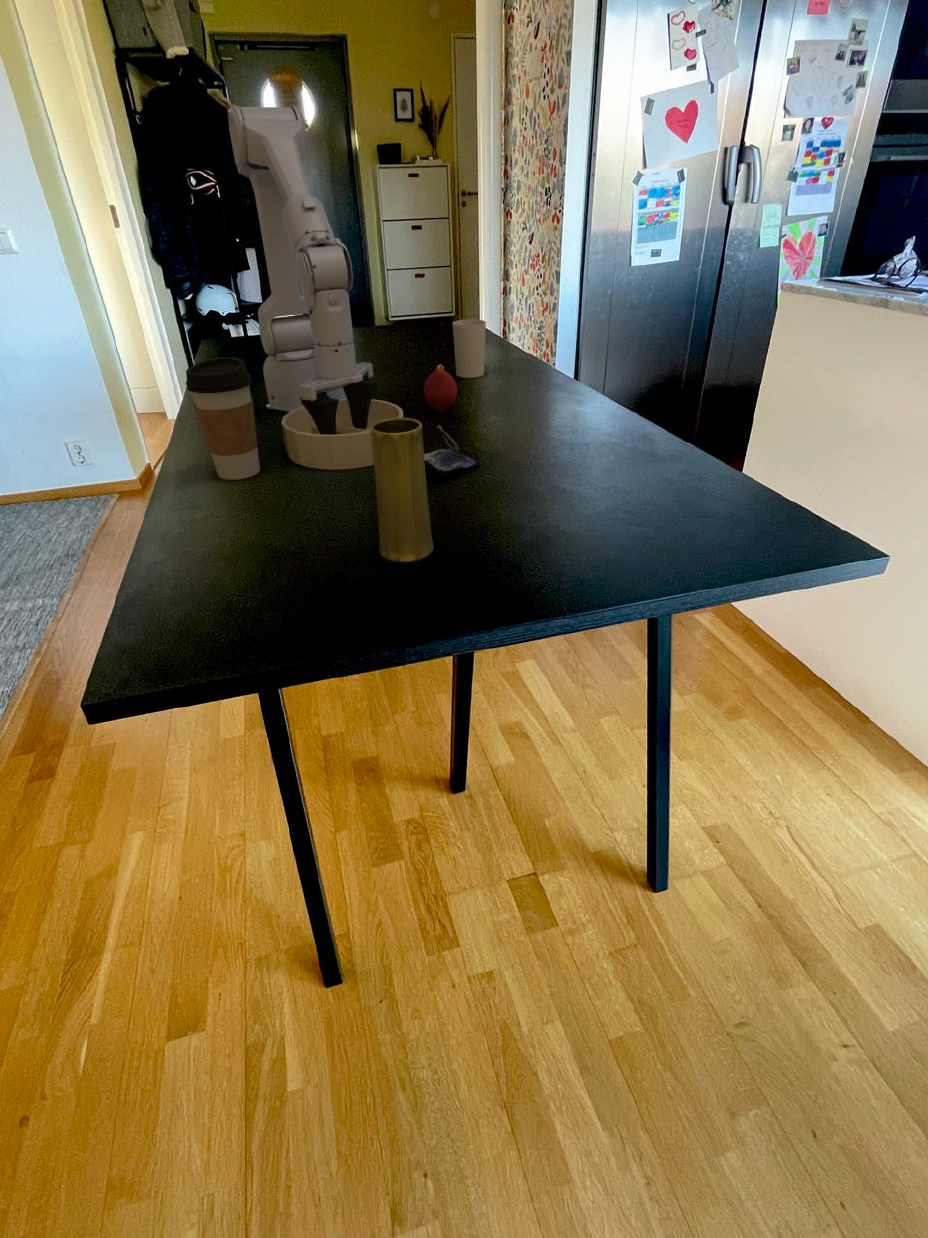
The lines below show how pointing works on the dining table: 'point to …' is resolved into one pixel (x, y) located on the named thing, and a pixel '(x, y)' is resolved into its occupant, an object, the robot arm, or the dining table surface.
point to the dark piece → (450, 457)
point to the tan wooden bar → (338, 430)
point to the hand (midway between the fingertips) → (345, 435)
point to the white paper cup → (469, 347)
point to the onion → (440, 389)
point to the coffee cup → (226, 415)
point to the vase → (401, 490)
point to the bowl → (333, 438)
